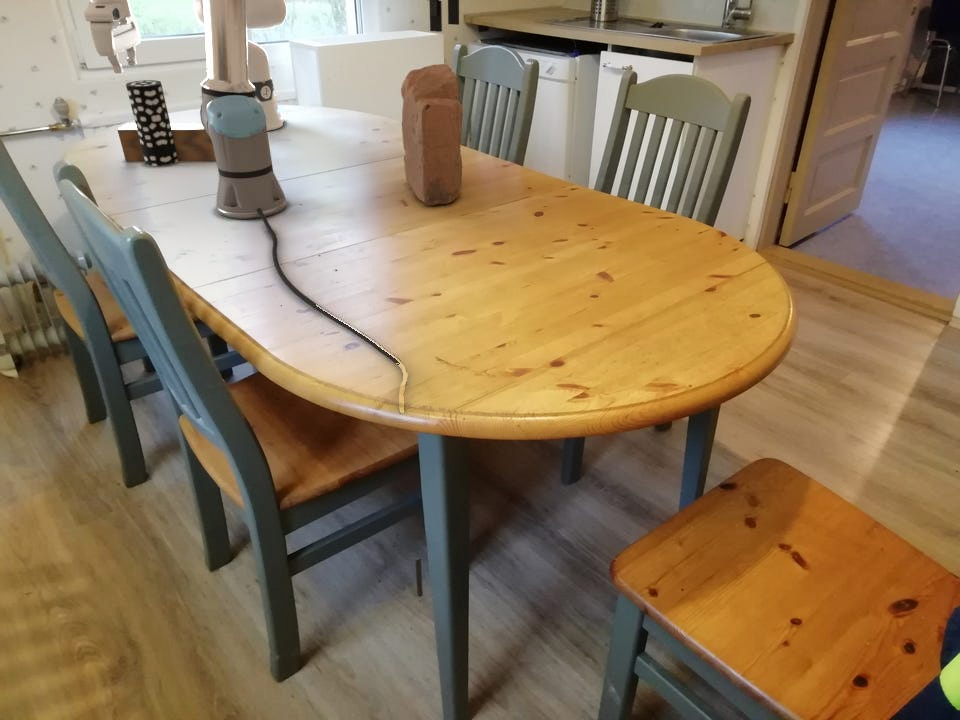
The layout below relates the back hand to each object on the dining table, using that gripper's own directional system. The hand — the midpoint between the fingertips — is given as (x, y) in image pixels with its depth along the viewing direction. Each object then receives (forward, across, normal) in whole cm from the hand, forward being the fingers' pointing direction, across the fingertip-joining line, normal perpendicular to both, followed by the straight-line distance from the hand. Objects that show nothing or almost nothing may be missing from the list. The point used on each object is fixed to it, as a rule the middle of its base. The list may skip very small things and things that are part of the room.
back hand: (126, 68), depth 177 cm
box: (+23, 0, +7) cm, 24 cm away
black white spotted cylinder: (+13, +4, +5) cm, 14 cm away
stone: (+22, +30, +79) cm, 87 cm away
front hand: (-11, +6, +82) cm, 83 cm away
